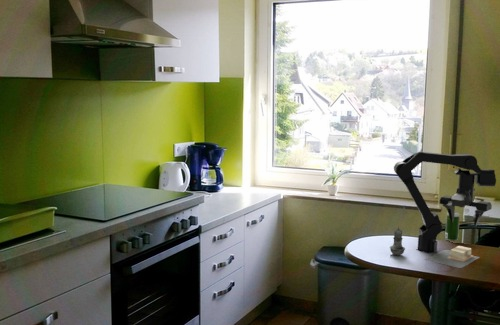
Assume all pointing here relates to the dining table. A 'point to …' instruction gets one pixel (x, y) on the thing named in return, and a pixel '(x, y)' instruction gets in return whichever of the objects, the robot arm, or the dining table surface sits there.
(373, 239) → the dining table surface
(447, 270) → the dining table surface
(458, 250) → the cream block
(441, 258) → the mat
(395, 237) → the grey tower figurine
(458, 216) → the beer can
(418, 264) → the dining table surface
